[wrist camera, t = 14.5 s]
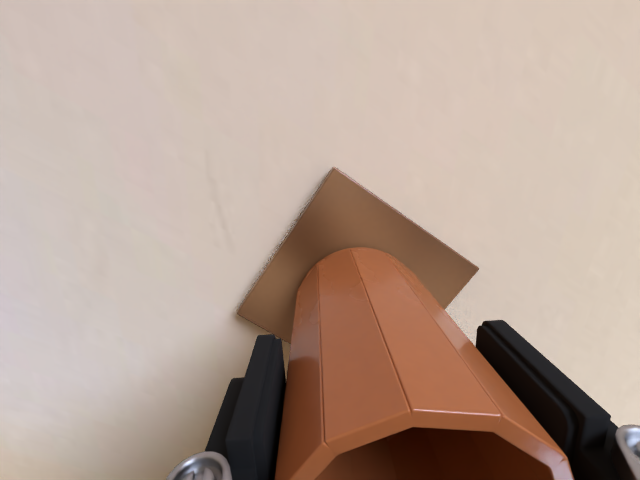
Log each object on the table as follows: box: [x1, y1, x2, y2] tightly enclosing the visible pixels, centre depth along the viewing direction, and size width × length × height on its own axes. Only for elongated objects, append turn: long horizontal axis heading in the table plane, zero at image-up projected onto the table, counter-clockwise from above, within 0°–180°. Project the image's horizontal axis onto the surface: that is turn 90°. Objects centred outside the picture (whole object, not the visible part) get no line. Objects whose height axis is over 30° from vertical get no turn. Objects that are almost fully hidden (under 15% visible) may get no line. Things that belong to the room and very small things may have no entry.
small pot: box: [275, 247, 574, 480], centre depth 11 cm, size 6×6×10 cm
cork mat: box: [237, 167, 479, 344], centre depth 16 cm, size 9×9×1 cm
